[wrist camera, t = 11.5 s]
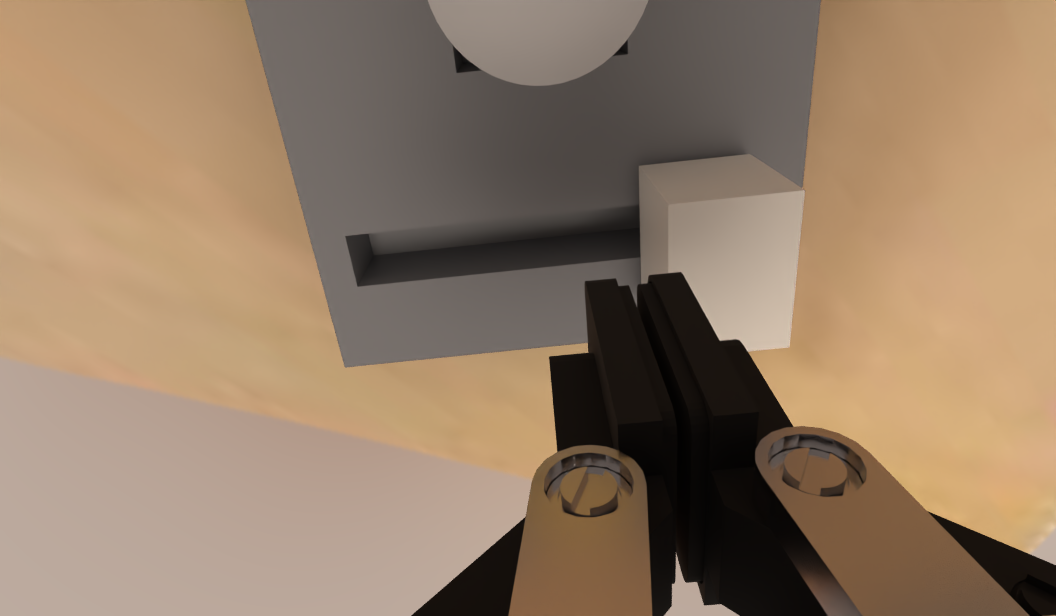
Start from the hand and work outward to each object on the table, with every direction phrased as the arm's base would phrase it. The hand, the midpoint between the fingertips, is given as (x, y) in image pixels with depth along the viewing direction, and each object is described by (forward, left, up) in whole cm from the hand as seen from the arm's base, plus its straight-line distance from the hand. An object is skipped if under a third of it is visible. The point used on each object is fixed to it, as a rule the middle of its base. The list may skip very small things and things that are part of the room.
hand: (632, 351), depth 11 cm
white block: (-3, +1, -10) cm, 10 cm away
